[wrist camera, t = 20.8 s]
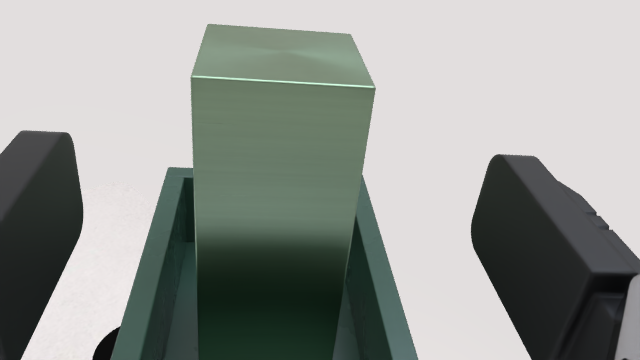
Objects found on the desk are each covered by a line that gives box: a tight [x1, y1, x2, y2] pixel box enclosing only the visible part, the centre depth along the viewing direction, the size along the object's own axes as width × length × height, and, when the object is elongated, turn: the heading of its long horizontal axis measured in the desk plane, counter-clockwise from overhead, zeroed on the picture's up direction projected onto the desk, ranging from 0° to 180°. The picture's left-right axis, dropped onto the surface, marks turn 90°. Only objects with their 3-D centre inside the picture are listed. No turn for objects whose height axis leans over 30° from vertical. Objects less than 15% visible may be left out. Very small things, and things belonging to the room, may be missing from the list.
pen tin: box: [191, 24, 376, 360], centre depth 17 cm, size 4×4×11 cm
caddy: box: [111, 167, 418, 360], centre depth 20 cm, size 9×13×4 cm
